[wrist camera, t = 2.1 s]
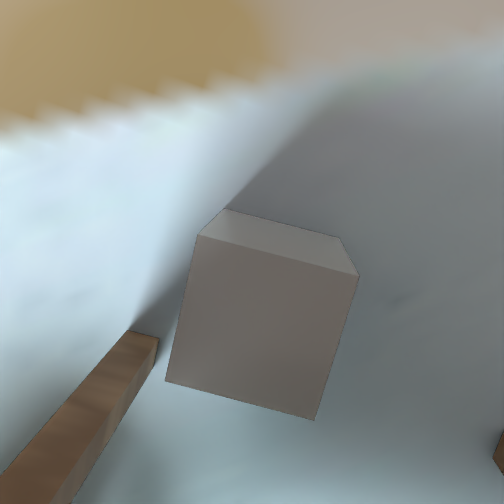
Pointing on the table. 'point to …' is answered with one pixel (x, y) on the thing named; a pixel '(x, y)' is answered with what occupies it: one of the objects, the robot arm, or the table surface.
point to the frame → (89, 428)
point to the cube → (262, 313)
